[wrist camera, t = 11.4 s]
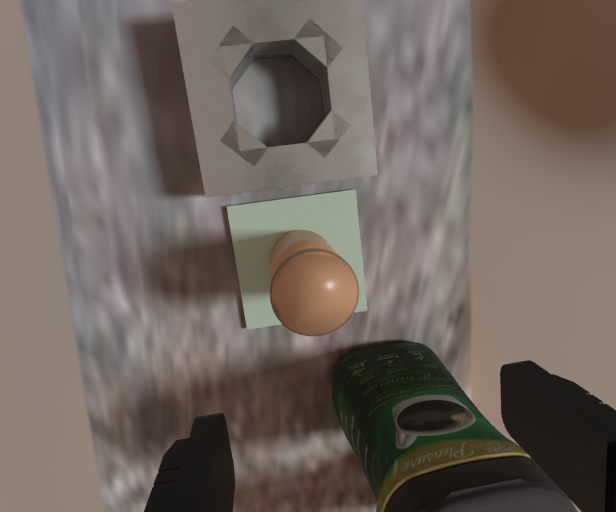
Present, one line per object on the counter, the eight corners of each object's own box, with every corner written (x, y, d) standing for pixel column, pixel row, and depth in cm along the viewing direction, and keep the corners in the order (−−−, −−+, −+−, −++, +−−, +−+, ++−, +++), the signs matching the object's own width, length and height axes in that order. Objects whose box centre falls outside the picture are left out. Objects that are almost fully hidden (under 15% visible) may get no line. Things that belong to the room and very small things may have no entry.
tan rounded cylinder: (263, 233, 32) (262, 257, 23) (329, 223, 32) (353, 243, 23) (274, 297, 33) (277, 343, 24) (337, 286, 33) (363, 328, 24)
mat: (227, 206, 31) (226, 206, 31) (354, 189, 32) (355, 189, 32) (247, 327, 33) (246, 329, 33) (366, 309, 34) (367, 310, 34)
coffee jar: (335, 432, 36) (408, 689, 18) (325, 349, 35) (393, 542, 16) (440, 412, 37) (611, 641, 19) (434, 331, 35) (615, 495, 17)
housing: (182, 23, 29) (170, 2, 25) (349, 7, 30) (361, -15, 26) (211, 195, 31) (205, 197, 28) (365, 174, 32) (377, 174, 29)
